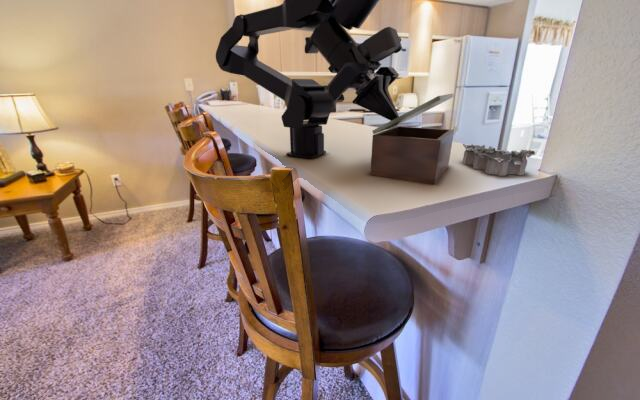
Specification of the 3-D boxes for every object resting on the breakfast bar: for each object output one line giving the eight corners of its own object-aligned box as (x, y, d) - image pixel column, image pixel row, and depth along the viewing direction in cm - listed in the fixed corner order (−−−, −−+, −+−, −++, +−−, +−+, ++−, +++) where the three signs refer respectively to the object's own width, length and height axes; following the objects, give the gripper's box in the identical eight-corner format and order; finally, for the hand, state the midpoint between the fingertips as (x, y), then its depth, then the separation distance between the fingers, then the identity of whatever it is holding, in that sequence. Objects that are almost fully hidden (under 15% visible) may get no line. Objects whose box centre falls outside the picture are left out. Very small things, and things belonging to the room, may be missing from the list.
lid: (454, 96, 50) (453, 93, 50) (440, 99, 40) (438, 95, 40) (397, 125, 57) (396, 122, 57) (373, 134, 47) (372, 130, 47)
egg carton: (532, 176, 49) (539, 151, 47) (489, 177, 48) (494, 152, 47) (492, 160, 58) (497, 139, 57) (456, 161, 58) (460, 140, 56)
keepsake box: (448, 166, 54) (454, 129, 52) (434, 184, 44) (440, 140, 42) (393, 159, 59) (396, 125, 57) (370, 174, 49) (372, 134, 47)
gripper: (347, -4, 39) (420, 84, 38) (392, 20, 54) (446, 84, 53) (301, 63, 46) (362, 139, 45) (352, 68, 61) (399, 125, 60)
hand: (396, 119), depth 50 cm, fingers closed
